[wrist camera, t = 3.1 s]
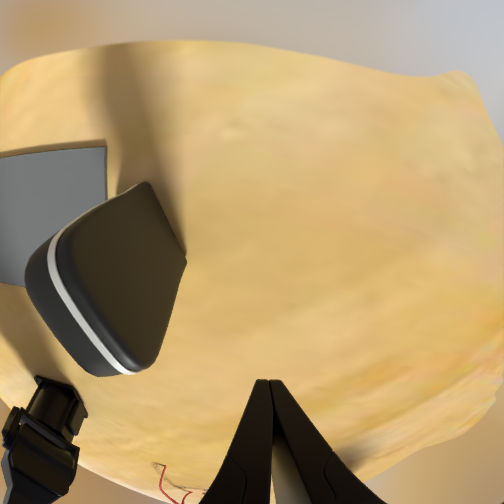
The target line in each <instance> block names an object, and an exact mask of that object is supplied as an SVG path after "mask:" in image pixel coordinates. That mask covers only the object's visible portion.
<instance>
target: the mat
mask: <svg viewBox="0 0 504 504" xmlns="http://www.w3.org/2000/svg"><path fill="white" fill-rule="evenodd" d="M106 200H107V147H92V148H77V149H66V150H55V151H46V152H38V153H30V154H23V155H16V156H10V157H4V158H0V282H2V283H7V284H11V285H16V286H21V287H26V286H25V282H24V271H25V268H26V266H27V263H28V260H29V258H30V256H31V255H32V254H33V253H34V252H35V250H36V249H37V248H38V247H40V246H41V245H42V244H43V243H44V242H45V241H47V240H48V239H49V238H50V237H51V236H53V235H54V234H55V233H57V232H58V231H59V230H61V229H62V228H63V227H65V226H66V225H67V224H69V223H70V222H71V221H73V220H74V219H76V218H77V217H78V216H80V215H81V214H83V213H84V212H86V211H88V210H89V209H91V208H93V207H95V206H96V205H98V204H100V203H102V202H104V201H106Z"/></svg>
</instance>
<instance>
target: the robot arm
mask: <svg viewBox="0 0 504 504" xmlns="http://www.w3.org/2000/svg"><path fill="white" fill-rule="evenodd" d="M34 380H35V381H36V383H37V385H38V388H37V389H36V391H35V393H34V395H33V397H32V399H31V400H30V402H29V404H28V406H27V408H26V410H25V409H24V408H23V407H21V408H20V409H19V408H18V407H15V406H14V407H13V408H12V410H11V412H10V414H9V416H8V418H7V420H6V422H5V425H4V427H3V429H2V436H3V443H2V446H3V447H4V448H5V449H6V450H5V453H4V455H3V458H2V461H1V467H2V471H3V475H4V478H5V482H6V486H7V491H6V494H5V498H4V501H3V504H51V503H53V502H54V501H56V500H57V499H59V498H60V497H62V496H64V495H65V494H67V493H68V491H69V486H70V485H71V484H72V482H73V480H74V478H75V475H76V470H77V463H78V457H79V451H80V448H79V447H78V446H75V445H73V444H72V440H73V437H74V435H75V436H77V435H78V433H79V430H80V427H81V425H82V422H83V420H84V418H87V417H88V414H87V412H86V410H85V408H84V406H83V404H82V403H81V401H80V399H79V397H78V395H77V393H76V391H75V389H74V388H73V387H71V386H68V385H65V384H61V383H58V382H55V381H52V380H49V379H46V378H43V377H40V376H37V375H36V376H35V377H34ZM19 423H21V425H19ZM332 451H333V450H332V448H331V447H330V446H329V444H328V443H327V442H326V440H325V439H324V438H323V436H322V435H321V434H320V433H319V431H318V430H317V429H316V427H315V426H314V425H313V423H312V422H311V421H310V419H309V418H308V417H307V415H306V414H305V412H304V411H303V410H302V408H301V407H300V406H299V404H298V403H297V402H296V400H295V399H294V397H293V396H292V395H291V393H290V392H289V391H288V389H287V388H286V386H285V385H284V384H283V382H282V381H281V380H269V381H268V380H267V379H257V380H256V382H255V384H254V387H253V390H252V392H251V395H250V397H249V400H248V403H247V405H246V408H245V410H244V413H243V415H242V418H241V420H240V423H239V425H238V428H237V430H236V433H235V435H234V438H233V440H232V442H231V445H230V447H229V450H228V452H227V455H226V456H225V459H224V461H223V464H222V466H221V468H220V470H219V472H218V474H217V476H216V478H215V479H214V481H213V483H212V484H211V486H210V487H209V489H208V491H207V492H206V493H205V495H204V496H203V498H202V499H201V501H200V502H199V504H270V487H271V475H272V481H273V487H274V493H275V499H276V504H387V503H385V502H384V501H383V500H381V499H380V498H379V497H378V496H377V495H376V494H374V493H373V492H372V491H371V490H370V489H369V488H368V487H366V485H365V484H363V483H362V482H361V481H360V480H359V479H358V478H357V477H356V476H355V475H354V474H353V473H352V472H351V471H350V470H349V469H348V468H347V467H346V465H345V464H344V463H343V462H342V461H341V460H340V458H339V457H338V456H337V454H336V453H335V452H334V451H333V452H332ZM501 504H504V502H503V503H501Z"/></svg>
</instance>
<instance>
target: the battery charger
mask: <svg viewBox="0 0 504 504" xmlns="http://www.w3.org/2000/svg"><path fill="white" fill-rule="evenodd" d="M186 265H187V260H186V258H185V256H184V254H183V252H182V250H181V247H180V245H179V243H178V241H177V239H176V237H175V235H174V233H173V231H172V229H171V227H170V225H169V223H168V221H167V219H166V217H165V215H164V213H163V210H162V208H161V206H160V204H159V202H158V200H157V198H156V196H155V194H154V192H153V190H152V187H151V185H150V184H149V183H148V182H142V183H137V184H135V185H133V186H132V187H131V188H129V189H128V190H126V191H125V192H123V193H121V194H119V195H117V196H114V197H112V198H110V199H108V200H106V201H104V202H102V203H100V204H98V205H96V206H95V207H93V208H91V209H89V210H88V211H86V212H84V213H83V214H81V215H80V216H78V217H77V218H76V219H74V220H73V221H71V222H70V223H69V224H67V225H66V226H65V227H63V228H62V229H61V230H59V231H58V232H57V233H55V234H54V235H53V236H51V237H50V238H49V239H48V240H47V241H45V242H44V243H43V244H42V245H41V246H40V247H38V248H37V249H36V250H35V252H34V253H33V254H32V255H31V256H30V258H29V260H28V263H27V266H26V268H25V271H24V282H25V286H26V290H27V293H28V295H29V297H30V299H31V301H32V303H33V304H34V306H35V308H36V309H37V311H38V312H39V314H40V315H41V317H42V318H43V320H44V321H45V323H46V324H47V326H48V327H49V329H50V330H51V331H52V333H53V334H54V336H55V337H56V338H57V339H58V341H59V342H60V343H61V344H62V346H63V347H64V348H65V349H66V351H67V352H68V353H69V354H70V355H71V356H72V358H73V359H74V360H75V361H76V362H77V363H78V365H80V366H81V367H82V368H83V369H84V370H85V371H86V372H88V373H90V374H92V375H94V376H96V377H107V376H115V375H120V374H127V375H132V374H137V373H140V372H142V371H143V370H145V369H147V368H149V367H150V366H151V365H152V364H153V363H154V362H155V360H156V358H157V356H158V354H159V351H160V348H161V345H162V343H163V339H164V336H165V333H166V330H167V327H168V324H169V320H170V317H171V314H172V310H173V306H174V302H175V299H176V295H177V291H178V287H179V284H180V280H181V278H182V275H183V272H184V269H185V267H186Z"/></svg>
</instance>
